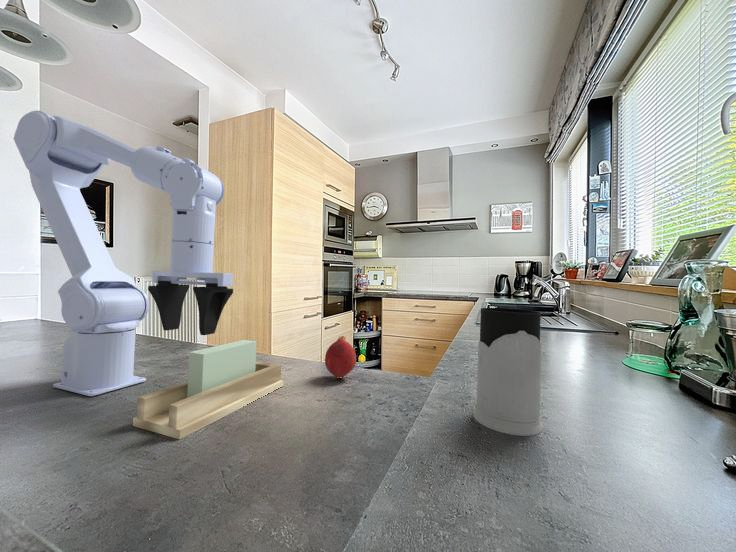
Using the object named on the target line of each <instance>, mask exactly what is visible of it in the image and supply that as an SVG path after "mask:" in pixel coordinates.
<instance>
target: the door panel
mask: <svg viewBox="0 0 736 552" xmlns="http://www.w3.org/2000/svg"><path fill="white" fill-rule="evenodd" d="M257 344H258V343H257V340H248V339H243V340H237V341H234V342H229V343H224V344H221V345H220V344H219V345H216V346H211V347H207V348H202V349H198V350H194V351H190V352H188V353H189V354H188V368H187V369H188V372H187V381H188V388H187V398H188V397H191V396H194V395H196V394H199V393H201V392H204V391H207V390H209V389H212V388H215V387H217V386H220V385H222V384H225V383H228V382H230V381H233V380H235V379H238V378H241V377H243V376H246V375H249V374H251V373H254V372H255V368H256V361H257Z"/></svg>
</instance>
